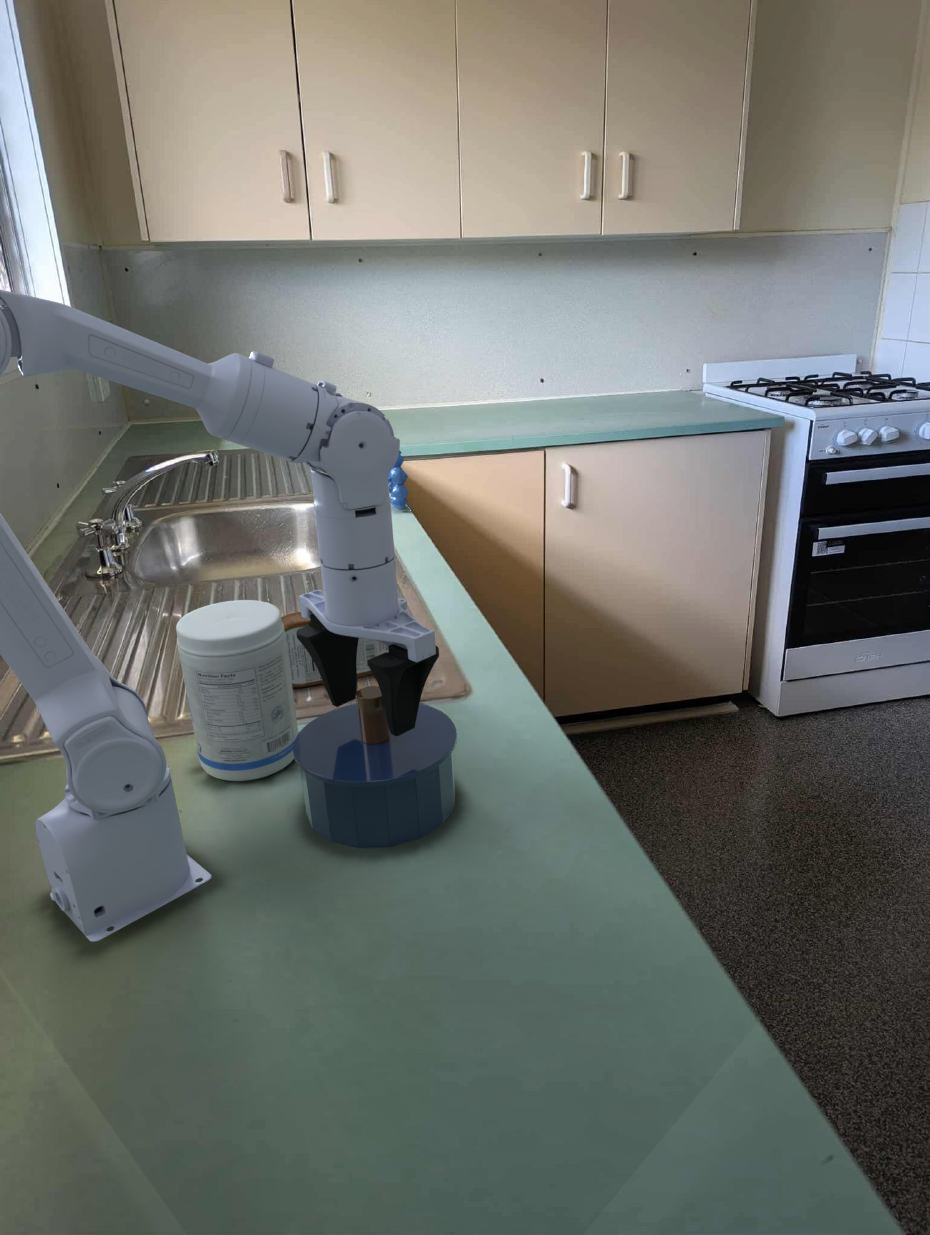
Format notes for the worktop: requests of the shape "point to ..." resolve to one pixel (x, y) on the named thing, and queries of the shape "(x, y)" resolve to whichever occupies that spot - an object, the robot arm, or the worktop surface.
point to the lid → (372, 744)
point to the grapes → (398, 484)
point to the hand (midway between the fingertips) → (372, 715)
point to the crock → (381, 808)
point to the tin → (304, 665)
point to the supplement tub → (238, 688)
